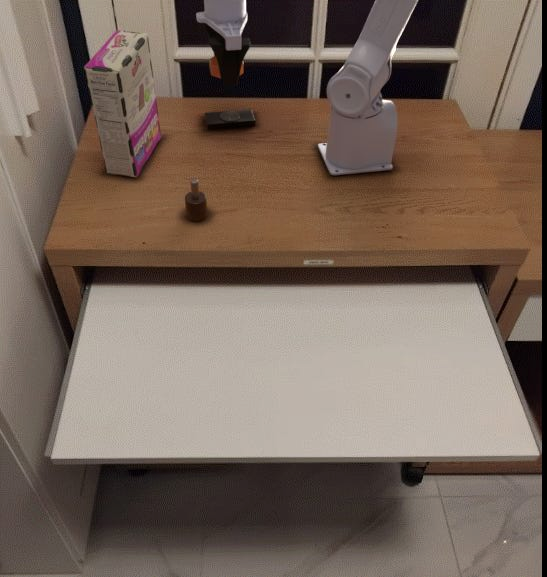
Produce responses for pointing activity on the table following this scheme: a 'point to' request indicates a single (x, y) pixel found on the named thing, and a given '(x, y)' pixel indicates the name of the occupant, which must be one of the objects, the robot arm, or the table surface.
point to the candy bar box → (124, 102)
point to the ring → (215, 69)
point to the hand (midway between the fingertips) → (227, 76)
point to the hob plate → (229, 119)
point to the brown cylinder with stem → (195, 203)
